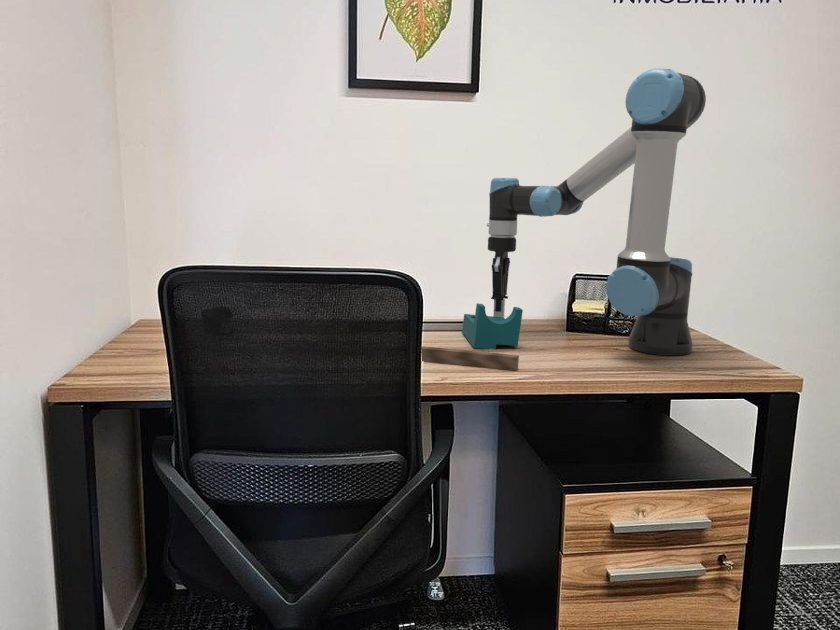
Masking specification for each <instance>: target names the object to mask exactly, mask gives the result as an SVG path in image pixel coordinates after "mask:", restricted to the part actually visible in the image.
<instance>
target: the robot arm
mask: <svg viewBox="0 0 840 630" xmlns="http://www.w3.org/2000/svg"><path fill="white" fill-rule="evenodd" d="M706 101H707V95H706V91H705V89H704V87H703V85H702V83H701V82H700V81H699V80H698V79H696V78H694V77H692V76H691V75H687V74H683V73H681V72H677V71H675V70H673V69H670V68H662V67H661V68H660V67H658V68H651V69H647V70H645V71H643V72H641V74H638V76H637V77H636V78H635V79H634V80H633V81H632V83H631V84H630V85H629V87H628V89H627V92H626V95H625V109H626V111H627V114H628V115H629V117H630V119H632V120H631V127H629V129H627V130H625V132H623V133H622V134H621V135H619V136H618V137H617V138H616V139H615V140H613V141H612V142H611V143H610V144H608V145H607V146H606V147H605V148H603V149H602V150H601V151H599V152H598V153H597V154H596V155H594V156H593V157H592V158H591V159H589V160H588V161H587V162H586V163H584V165H582V166H581V167H580V168H578V169H577V170H576V171H575V172H574V173H572V174H571V175H570V176H568V177H567V178H566V179H565V180H564V181H562V182H561V183H560V184H559V185H556V186H554V185H551V186H550V185H520V181H519V178H517V177H494V178H492V179H491V181H490V188H489V189H490V190H489V192H488V193H489V194H488V195H489V217H488V223H486V226H487V227H488V235H489V236H488V237H487V251H489V252H494V253H495V254H494V257H493V258H492V264H491V272H492V275H491V277H492V280H491V281H492V285H491V286H492V296H491V297H490V298H491V300H493V317H503V318H505V310H506V309H505V308H506V307H505V306H506V299H508V298H509V296H508V282H509V273H510V264H511V258H510V257H509V253H513V252H515V251H516V250H517V238H516V237H515V236H517V234H518V216H519V215H522V216H533V217H535V216H536V217H541V218H542V217H544V218H545V217H554V216H569V215H572V214H576V213H577V212H579V211H580V210H581V208H582V206H583V205H584V202H585V201H586V200H587V199H589V198H590V197H592V196H593V195H594V194H596V193H597V192H598V191H600V190H601V189H602V188H604V187H605V186H606V185H608V184H609V183H610V182H612V181H613V180H614V179H616V178H617V177H618V176H619V175H621V174H622V173H624V172H625V171H626V170H627V169H629V168H630V167H631V166H633V165H634V166H633V177H632V186H631V192H630V204H629V211H628V212H629V213H628V220H627V221H628V222H627V223H628V224H627V229H626V230H627V232H626V239H625V246H624V249H623V250H622V251H620V252H619V253H618V254H617V259H616V260H617V261H616V268H615V269H614V270H613V271H612V273H610V274H609V276H608V278H607V281H606V284H605V285H606V286H605V291H606V296H607V299H608V301H609V303H610V304H611V305H612V306H613V308H614V309H615V310H616V311H618V312H619V313H621V314H623V315H624V316H631V317H637V318H636V319H635V323H634V325H633V327H632V329H631V332H630V334H629V336H628V342H627V343H628V344H627V345H628V348H630V349H632V350H634V351H635V352H641V353H645V354H651V355H657V356H684V355H685V356H686V355H689V354H691V353H692V351H693V340H692V335H691V332H690V328H689V327H690V326H689V323H688V316H689V315H688V313H689V305H690V297H691V285H692V276H693V263H692V261H691V260H689V259H687V258H679V257H670V256H669V255H668V254H667V252H666V250H665V248H666V243H667V242H666V240H667V235H668V233H667V232H668V231H667V230H668V225H669V217H670V216H669V215H670V207H671V200H672V199H671V198H672V192H673V184H674V176H675V169H676V168H675V167H676V159H677V151H678V143H679V142H680V141H681V140H682V139H683V138H684V137H685V136H686V135H687V129H689V128H690V127H691V126H693V125H694V124H695V123H696V122H697V121H698V120H699V118H700V117H701V115H702V114H703V112H704V110H705V108H706V107H705V106H706Z"/></svg>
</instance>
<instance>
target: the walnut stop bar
mask: <svg viewBox="0 0 840 630" xmlns="http://www.w3.org/2000/svg"><path fill="white" fill-rule="evenodd" d="M421 347H422V361H421V362H424V363H425V362H427V363H435V364H444V365H445V364H446V365H455V366H465V367H475V368H483V369H485V368H486V369H492V370H493V369H495V370H504V371H514V372H518V370H519V360H520V356H519V355H517V354H507V353H497V352H486V351H477V350H465V349H455V348H443V347H433V346H424V345H423V346H421Z"/></svg>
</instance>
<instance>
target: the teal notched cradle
mask: <svg viewBox="0 0 840 630" xmlns="http://www.w3.org/2000/svg"><path fill="white" fill-rule="evenodd" d="M475 305H476V307H475V313H474V314H470V313H469V314H468V313H464V314H463V322H462V328H461V330H462V331H461V333H462V334H463V336H464V337H465V338H466V339H467V341H468V342H469V344H470V345H471V346H472V348H474V349H482V350H496V349H497V345H501V346H502V345H503V346H512V347H513V346H514V347H518V346H519V339H520V331H521V325H522V318H523V312H524V310H523V309H522V308H520V307H517V306H513V307H512V311H511V313H510V314H509V315H508V316H507V317H506V318H505V317H504V318H503V317H493V316H492V315H491V316H489V315H487V313H486V305H484V304H483V303H478V302H477V303H476V304H475Z"/></svg>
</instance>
